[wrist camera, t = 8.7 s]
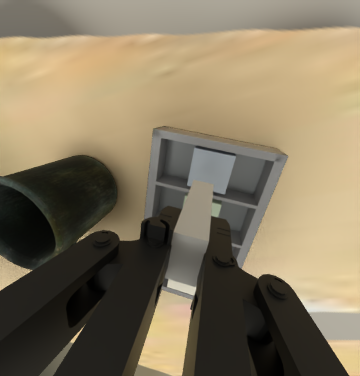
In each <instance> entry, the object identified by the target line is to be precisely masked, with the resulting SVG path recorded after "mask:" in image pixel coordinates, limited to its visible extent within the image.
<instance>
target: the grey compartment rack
mask: <svg viewBox="0 0 360 376" xmlns="http://www.w3.org/2000/svg"><path fill="white" fill-rule="evenodd" d="M196 146H202V147H207V148H212V149H217V150H221V151H226V152H231V153H235V155H236V158H235V162H234V165H233V168H232V172H231V175H230V179H229V182H228V185H227V189H226V192H225V194H221V193H217V192H213V199H217V200H221V201H222V205H221V209H220V212H219V216H218V218H222V219H226V220H227V222H228V223H229V225H230V232H231V242H232V252H233V256H234V257H235V259H236V260H237V263H238V266H239V267H240V268H242V266H243V264H244V261H245V259H246V256H247V254H248V252H249V249H250V247H251V244H252V242H253V240H254V237H255V235H256V232H257V230H258V228H259V225H260V223H261V220H262V218H263V216H264V213H265V211H266V208H267V206H268V204H269V201H270V199H271V196H272V194H273V192H274V189H275V187H276V184H277V182H278V180H279V177H280V175H281V172H282V170H283V168H284V165H285V163H286V160H287V158H288V155H286V154H285V153H283V152H281V151H280V150H278V149H276V148H271V147H266V146H261V145H256V144H251V143H246V142H241V141H236V140H231V139H226V138H221V137H216V136H211V135H206V134H201V133H196V132H191V131H186V130H181V129H176V128H171V127H166V126H163V127H158V128H154V129H153V136H152V146H151V156H150V166H149V176H148V186H147V196H146V206H145V216H144V220H145V219H147V218H149V217H158V216H159V215H160V212H161V211H162V209H163V208H165V207H167V206H172V207H176V208H180V209H182V208H183V203H184V198H185V195H186V193H187V192H188V193H189V191H190V188H191V186H187V183H188V178H189V173H190V168H191V163H192V158H193V153H194V148H195V147H196ZM167 284H168V279H166V278H164V281H163V286H162V290H164V291H167V292H170V293H173V294H177V295H180V296H183V297H186V298H189V299H192V300H193V298H194V295H190V294H187V293H184V292H181V291H178V290H175V289H172V288H169V287H167Z"/></svg>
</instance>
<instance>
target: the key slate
mask: <svg viewBox="0 0 360 376" xmlns="http://www.w3.org/2000/svg"><path fill="white" fill-rule="evenodd" d="M235 158H236V155H235V153H231V152H226V151H221V150H217V149H212V148H207V147H202V146H196V147H195V148H194V153H193V158H192V163H191V168H190V173H189V178H188V183H187V186H191V185H192V183H193V180H197V181H201V182H206V183H210V184H214V187H213V192H217V193H221V194H225V192H226V189H227V185H228V182H229V179H230V175H231V172H232V168H233V165H234V162H235Z"/></svg>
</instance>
